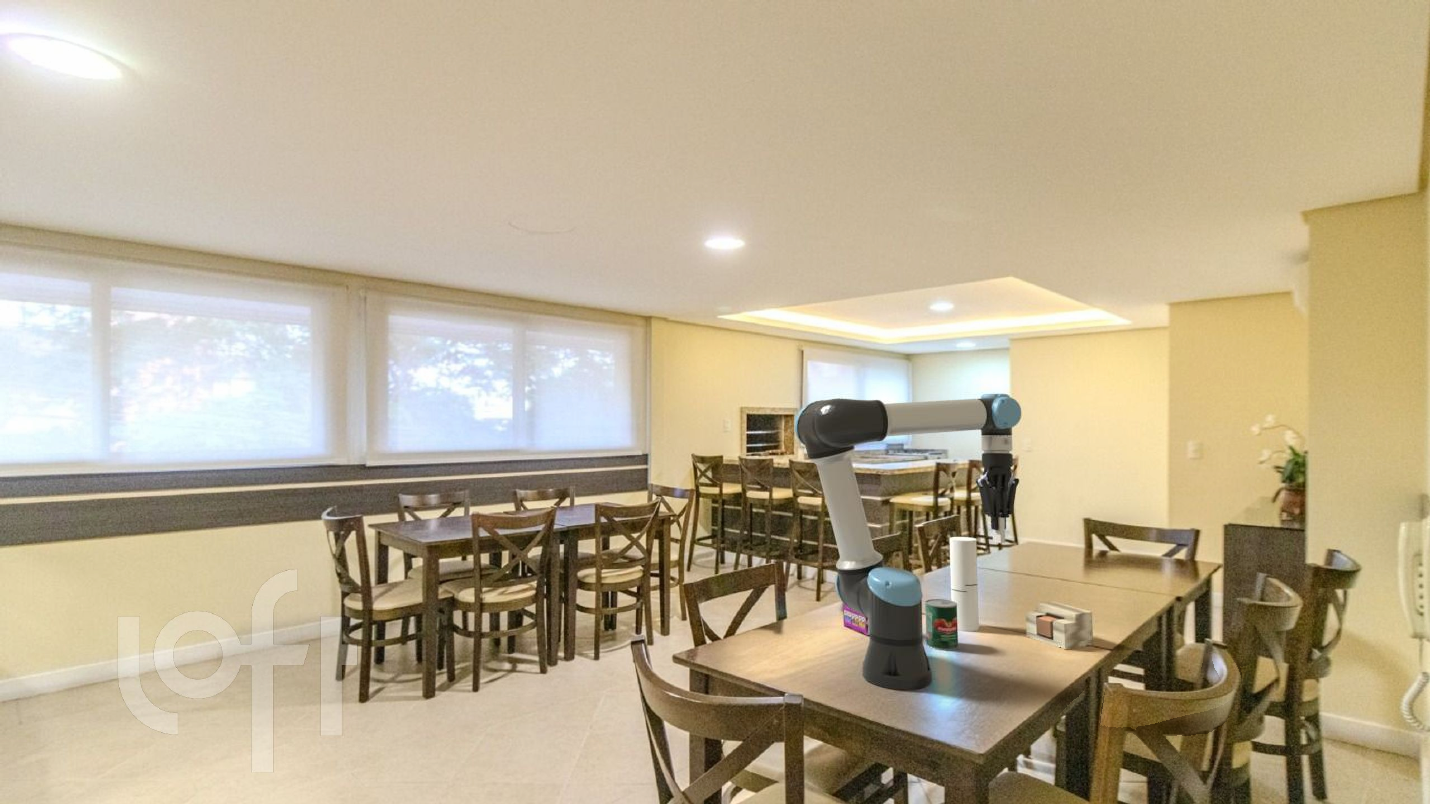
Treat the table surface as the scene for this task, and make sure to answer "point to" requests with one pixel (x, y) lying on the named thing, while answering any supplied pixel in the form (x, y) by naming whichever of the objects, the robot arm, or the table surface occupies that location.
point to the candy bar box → (855, 621)
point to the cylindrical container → (964, 582)
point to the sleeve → (1062, 625)
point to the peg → (1045, 625)
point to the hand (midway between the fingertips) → (998, 542)
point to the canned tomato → (941, 624)
